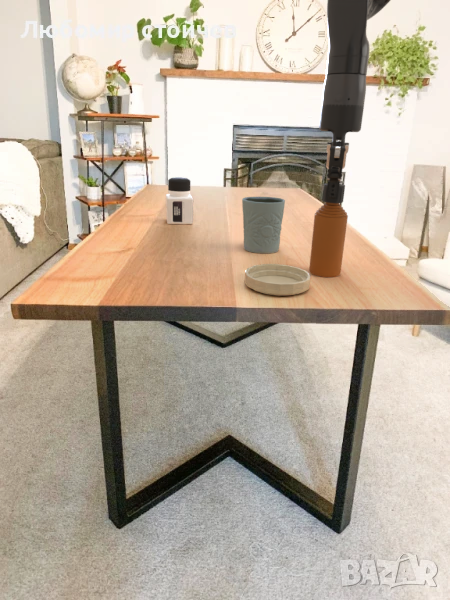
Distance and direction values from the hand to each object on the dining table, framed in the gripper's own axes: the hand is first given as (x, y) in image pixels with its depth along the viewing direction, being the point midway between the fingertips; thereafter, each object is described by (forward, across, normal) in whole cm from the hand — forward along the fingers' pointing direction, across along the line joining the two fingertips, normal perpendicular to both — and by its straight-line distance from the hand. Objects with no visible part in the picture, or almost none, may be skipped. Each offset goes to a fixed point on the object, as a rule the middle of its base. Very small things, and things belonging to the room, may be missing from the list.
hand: (331, 199), depth 86 cm
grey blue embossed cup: (+15, +15, +16) cm, 26 cm away
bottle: (+15, 0, 0) cm, 15 cm away
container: (+15, +38, +44) cm, 60 cm away
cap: (0, 0, 0) cm, 0 cm away
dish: (+15, -12, +8) cm, 21 cm away
